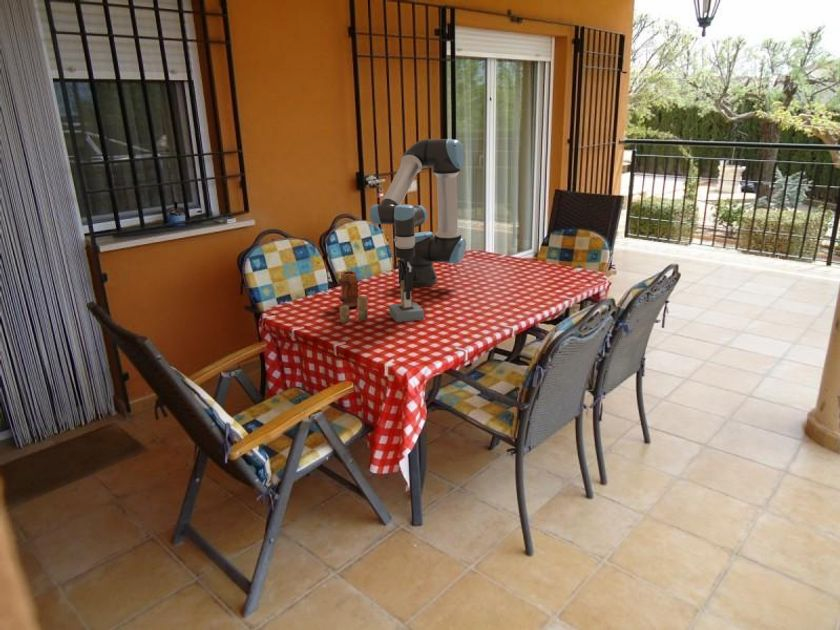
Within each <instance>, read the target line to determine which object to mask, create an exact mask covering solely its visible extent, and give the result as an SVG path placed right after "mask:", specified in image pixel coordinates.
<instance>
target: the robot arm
mask: <svg viewBox="0 0 840 630" xmlns="http://www.w3.org/2000/svg"><path fill="white" fill-rule="evenodd" d="M465 158H466V156H465V150H464V146H463V144H462V142H461V141H460V140H458V139H452V138H432V139H431V138H424V139H421V140H418V141H417V142H414V144H412V145H411V146H410V147H409V148H408V149H407V150H406V151H405V152H404V153H403V155H402V157H401V159H400V166H399V168H398V170H397V172H396V173H395V176H394V177H393V179H392V181H391V183H390V185H389V187H388V189H387V191H386V192H385V194H384V197H382V198H383V199H382V201H380V203H379V204H378V203H377V204H372V206H371V207H370V210H369V218H370V220H371V223H373V224H377V225H388V226H389V225H391V226H392V225H393V226H394V238H393V241H394V244H395V245H394V246H395V247H394V251H395V253H394V255H395V256H394V257H396V258H397V268H398V269H397V272H398V273H397V274H398V285H399V286H400V288H401V281H402V280H404V288H405V290H403V292H404V307H405V308H406V307H411V303H412V291H414V287H418V288H419V287H431V286H435V284H437V283H438V278H437V275H436V270H435V269H434V263H442V264H450V265H452V264H459V263H461V262H462V261H463V258H464V256H465V253H466V249H467V241H466V239H465V238H464V237H462V233H461V231H460V230H459V229H458V186H457V185H458V184H457V183H458V182H457V181H458V180H457V178H458V177H457V176H458V175H459V173H460V172H461V169H462V168H463V167H464V166H465V161H466V159H465ZM424 168H432V173H433V174H434V175H435V176H436V194H437V198H436V199H437V200H436V201H437V226H438V227H437V228H438V229H437V231H436V232H435V234H434V232H432V231H420V232H416V230H415V228H416V227H418V226H421V225H423V224H424V223H425V222H426V221H427V219H428V216H429V215H428V210H427V208H425V206H423V205H420V204H419V205H418V204H417V205H412V204H403V202H404V199H405V198H406V195H407V194H408V191H409V190H410V188H411V185H412V184H413V181H415V178H416V175H417V174H419V173H420V172H421V171H422V169H424Z"/></svg>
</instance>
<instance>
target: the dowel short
mask: <svg viewBox="0 0 840 630" xmlns="http://www.w3.org/2000/svg"><path fill="white" fill-rule="evenodd" d="M339 320H340V321H339V322H340V323H342V324H348V323H351V322H350V321H351V318H350V307H349V306H347V305H343V304H342V305H340V306H339Z"/></svg>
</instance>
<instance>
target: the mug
mask: <svg viewBox="0 0 840 630" xmlns="http://www.w3.org/2000/svg"><path fill="white" fill-rule="evenodd" d="M338 283H339V284H340V287H341V288H340V289H341V295H340V296H339V297H338V299H339V300H340V302H341V303H342V306H343V305H347V306H349V308H353V307H354V308H355V307H358V297H359V296H360V295H359V283H360V280H359V279H358V278H357V272H355V271H352V270H345V271H341V273H340V278H339V280H338Z"/></svg>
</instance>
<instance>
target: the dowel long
mask: <svg viewBox="0 0 840 630" xmlns="http://www.w3.org/2000/svg"><path fill="white" fill-rule="evenodd" d="M403 290H405V288H404V280H402V281H401V287H400V304H401V309H402V310H408V309H411V307H406V308H405V307H404V292H403Z"/></svg>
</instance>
